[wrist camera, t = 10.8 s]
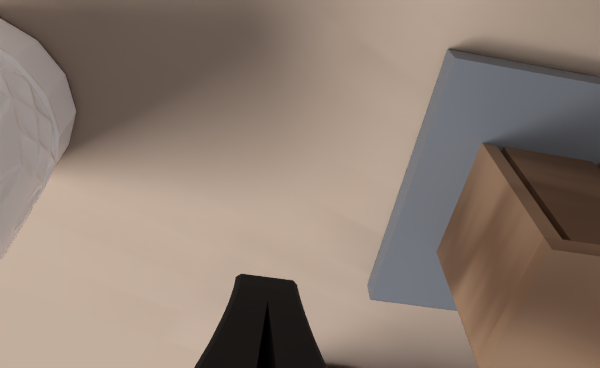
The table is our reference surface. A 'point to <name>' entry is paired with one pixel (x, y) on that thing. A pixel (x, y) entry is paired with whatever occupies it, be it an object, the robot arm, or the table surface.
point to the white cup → (28, 126)
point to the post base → (463, 150)
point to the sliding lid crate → (527, 259)
